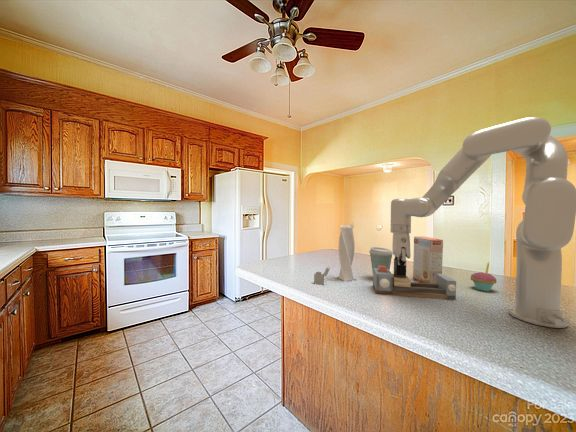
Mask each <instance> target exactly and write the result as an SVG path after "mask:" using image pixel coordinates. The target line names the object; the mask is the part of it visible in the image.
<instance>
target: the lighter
mask: <svg viewBox="0 0 576 432" xmlns="http://www.w3.org/2000/svg"><path fill="white" fill-rule="evenodd" d="M330 270H331V267H330V266H327V267H326V268H325V270H324V272H323V273H322V271H316V272H315V273H314V274H313V284H314V283H316V284H315V285H322V286H323V285H324V284H325V277H327V276H328V274H329V272H330Z"/></svg>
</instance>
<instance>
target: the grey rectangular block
mask: <svg viewBox="0 0 576 432" xmlns="http://www.w3.org/2000/svg"><path fill="white" fill-rule="evenodd" d="M436 284H438V289H444V290H446V295H447V299H446V300H449V299H448V295H451V296H452V297H453V296H456V297H457V281H456V280H455V279H453V278H452V277H450V276H448V275H446V274H445V273H442V274H436ZM452 297H451V299H452ZM449 298H450V296H449ZM451 299H450V300H451ZM452 300H453V301H455V300H454V297H453V299H452Z"/></svg>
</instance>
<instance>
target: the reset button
mask: <svg viewBox="0 0 576 432" xmlns="http://www.w3.org/2000/svg"><path fill="white" fill-rule="evenodd" d="M378 272H387V267H386V266H380V265H378Z"/></svg>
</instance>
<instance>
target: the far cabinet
mask: <svg viewBox="0 0 576 432" xmlns="http://www.w3.org/2000/svg"><path fill="white" fill-rule="evenodd" d="M393 274H394V273H392V272H391V271H389V270H388V269H387V272H378V268H373V271H372V286H373V285H374V286H375V288H376V290H383V291H393ZM376 293H377V291H376V292H375V294H376ZM387 293H388V292H387ZM387 293H386V294H387ZM386 294H385V295H386ZM388 294H389V293H388ZM377 295H384V294H383V293H382V294H381V293H380V294H379V292H378V294H377ZM389 296H393V295H392V293H390V295H389Z"/></svg>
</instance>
